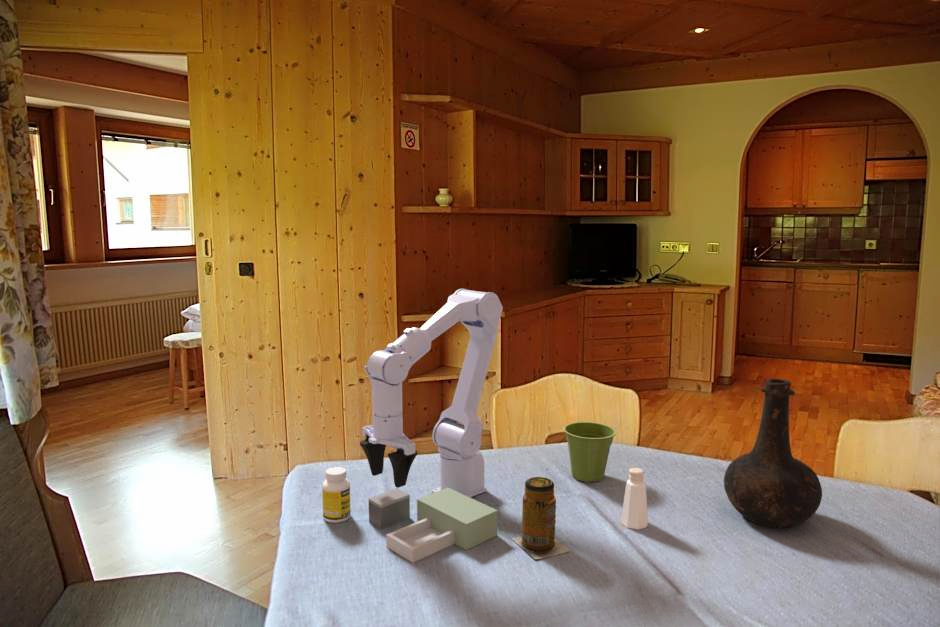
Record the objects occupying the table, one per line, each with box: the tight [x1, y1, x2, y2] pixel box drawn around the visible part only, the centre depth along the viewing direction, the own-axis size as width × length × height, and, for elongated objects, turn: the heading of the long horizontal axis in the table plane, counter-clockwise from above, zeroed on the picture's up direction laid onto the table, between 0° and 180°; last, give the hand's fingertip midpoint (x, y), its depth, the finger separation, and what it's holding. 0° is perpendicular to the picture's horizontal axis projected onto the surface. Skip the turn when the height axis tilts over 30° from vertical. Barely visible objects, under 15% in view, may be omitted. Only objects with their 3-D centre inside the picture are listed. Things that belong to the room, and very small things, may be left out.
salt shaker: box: [620, 467, 649, 530], centre depth 130 cm, size 5×5×11 cm
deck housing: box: [385, 488, 498, 564], centre depth 124 cm, size 18×14×5 cm
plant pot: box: [562, 421, 617, 483], centre depth 152 cm, size 12×12×11 cm
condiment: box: [511, 476, 570, 560], centre depth 121 cm, size 7×8×12 cm
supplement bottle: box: [321, 466, 352, 524], centre depth 132 cm, size 5×5×10 cm
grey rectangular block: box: [368, 487, 411, 530], centre depth 131 cm, size 7×4×5 cm, turn 133°
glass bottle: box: [723, 378, 823, 528], centre depth 131 cm, size 18×18×28 cm
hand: (388, 479), depth 130 cm, fingers open, 7 cm apart
